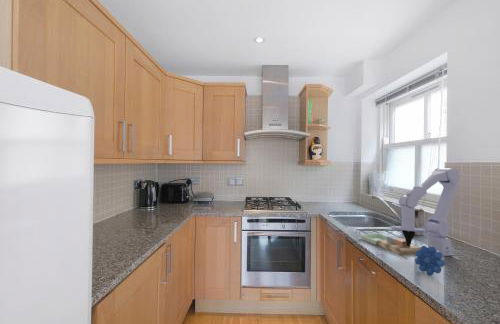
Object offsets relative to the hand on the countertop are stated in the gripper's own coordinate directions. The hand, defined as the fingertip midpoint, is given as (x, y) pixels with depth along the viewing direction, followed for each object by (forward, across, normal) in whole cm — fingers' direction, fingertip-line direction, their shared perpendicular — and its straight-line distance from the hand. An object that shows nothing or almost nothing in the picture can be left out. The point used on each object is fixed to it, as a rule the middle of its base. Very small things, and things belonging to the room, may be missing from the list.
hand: (408, 245), depth 127 cm
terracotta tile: (+1, +2, -3) cm, 4 cm away
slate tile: (+1, +6, -7) cm, 9 cm away
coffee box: (+4, -9, -47) cm, 48 cm away
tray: (+4, +14, -16) cm, 22 cm away
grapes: (+4, -5, +26) cm, 26 cm away
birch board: (+4, +4, -5) cm, 7 cm away
